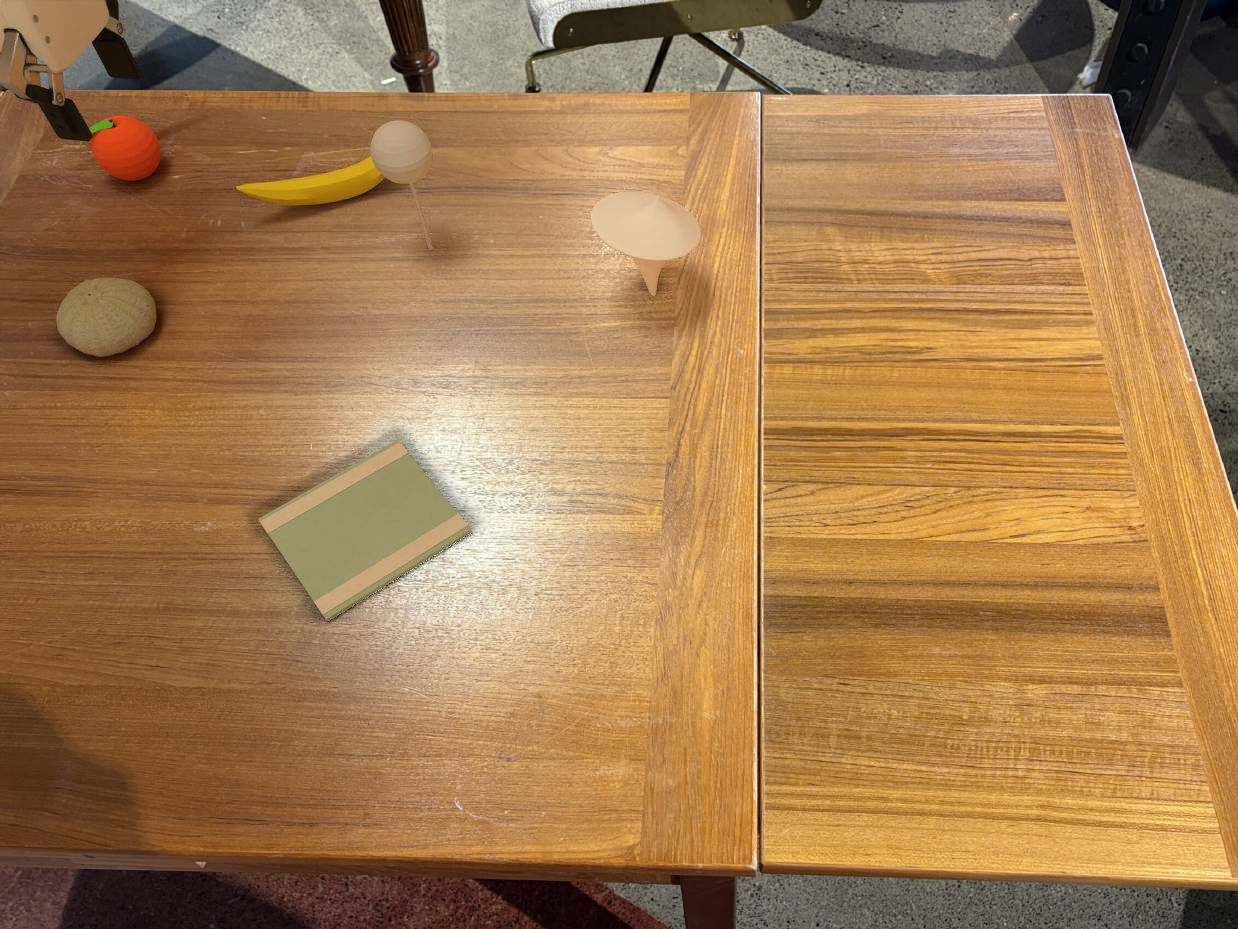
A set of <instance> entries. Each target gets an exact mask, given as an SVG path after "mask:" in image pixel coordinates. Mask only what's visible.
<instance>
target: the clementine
mask: <svg viewBox="0 0 1238 929" xmlns="http://www.w3.org/2000/svg"><path fill="white" fill-rule="evenodd" d="M89 129H90V131H91V133H92V136H93V137H92V139H91V140H90V149H91V153H92V155H93V158H94V160H95V162H97V164H98V165H99V166H100V168H101V169H102V170H103V171H104V172H106V173H108V174H109V175H110V176H112V177H114V178H117V179H119V180H123V181H131V182H132V181H141V180H144V179H146V178H148V177H150V176H151V175H152V174H153V173H154V172H155V171H156V170H157V168H158V167H159V164H160V162H161V157H162V155H161V154H162V153H161V152H162V150H161V145H160V142H159V140H158V138H157V136H156V135H155V134H154V132H153V131H152V130H151V127H149V126H147V125H146V124H145V123H144V122H142V121H141V120H138V119H136V118H134V117H132V116H127V115H120V114H119V115H111V116H107V117H105V118H104V119H102V120H100V121H99V122H97V123H95V124H93V125H92V126H90V127H89ZM83 143H84V141H79V154H80V155H81V154H82V145H83Z"/></svg>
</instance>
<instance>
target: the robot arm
mask: <svg viewBox="0 0 1238 929" xmlns="http://www.w3.org/2000/svg"><path fill="white" fill-rule="evenodd" d="M119 4H120V3H119V0H0V85H1V86H2V87H4V88H5V89H6V90H8V91H9V92H11V93H12V94H13V95H14V96H15V97H16V98H17V99H20V100H23V101H27V102H29V103H30V104H35V105H38V107H39V108H40V110H41V111H42V113H43V115H44V116H45V118H46V120H47V121H48V123H49V125H50V127H51V128H52V129H53V131H54V133H55V135H56V136H57V137H58V138H59V139H61V140H66V141H67V140H68V141H76V142H77V141H78V142H81V141H83V142H91V139H92V137H93V136H92V133H91V131H90V129H89V128H90V127H89V125H87V122H86V121H85V118H84V116H83V115H82V113H81V111H80V110H79V108H78V107H77V105H76V103H75V102H74V100H73V99H72V98H69V97H66V96H65V83H64V82H65V81H64V72H66V71H67V70H68V69H69V68H70V67H71V66H72V65H73V64H74V63H75V62H76V61H77V59H78V58H79V57H80V56H82V54H83V53H84V52H85V50H86V49H88V47H89V46H90V45H91V44H92V47H93V48H94V50H95V52H96V54H97V56H98V58H99V60H100V61H101V64H102V65H103V68H104V69H105V71H106V73H107V75H108V77H111V78H113V79H126V80H134V81H135V80H140V79H141V77H142V76H143V72H142V71H141V69H140V67H139V65H138V63H137V61H136V59H135V57H134V55H133V53H132V51H131V49H130V47H129V45H128V43H127V41H126V39H125V37H123V36H124V35H125V26H124V24H123V23H122V22H121V21H120V5H119ZM38 60H39V61H40V62H41V63H38ZM41 74H47V83H48V84H47V85H48V88H47V87H44V86H42V84H41Z"/></svg>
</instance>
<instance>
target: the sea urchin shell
mask: <svg viewBox="0 0 1238 929" xmlns="http://www.w3.org/2000/svg"><path fill="white" fill-rule="evenodd" d="M156 305H157V304H156V303H155V299H154V298H153V297H152V295H151V294H150V292H149V291H148V290H147V289H146V288H145V286H144V285H141V284H140V283H138V282H136V281H135V280H131V279H128V278H121V277H120V278H119V277H96V278H91V279H85V280H84V281H82V282H79V283H78V284H77V285H76V286H75V287H73V288H72V289H70V290H69V292H68V293H67V295H66V296H65V298H63V300H62V301H61V302H60V305H59V308H58V310H57V312H56V316H55V322H56V327H57V331H58V333H59V334H60V336H61V337H62V338H63V339H64V341H65V343H67V344H68V345H69V346H70V347H72V348H74V349H76V350H78V351H79V352H82V353H83V354H87V355H91V356H94V357H97V358H98V357H99V358H101V357H102V358H104V357H105V358H106V357H111V356H114V355H116V354H120V353H125V352H126V351H128V350H130V349H131V348H135V347H136V346H138V345H140V344H141V342H143V341H144V340H146V339H147V338H149V336H150V335H151V334H152V333H153V332H154V331H155V326H156V322H157V319H158V318H157V316H158V314H157V307H156Z"/></svg>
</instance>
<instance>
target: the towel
mask: <svg viewBox="0 0 1238 929" xmlns="http://www.w3.org/2000/svg"><path fill="white" fill-rule="evenodd" d="M257 520H258V522H259V523H260V525H261V526H262V528H263V529H264V531H265V532H266V533H267V535H268V536H269V538H270V540H271V541H272V542H273V544H274V545H275V547H276V548H277V550H278V551H279V553H280V555H281V556H282V557H283V559H284V560H285V561H286V564H288V566H289V568H290V569H291V571H292V572H293V573H294V575H295V576H296V578H297V579H298V581H299V583H300V584H301V585H302V587H303V588H304V589H305V591H306V593H307V594H308V596H309V597H310V598H311V600H312V602H313V603H314V605H315V606H316V607H317V609H318V610H319V612H320V614H321V615H322V616H323V618H324V619H325V620H326V622H327V621H329V620H331V619H333V618H334V617H336V616H338V615H339V614H341V613H342V612H344V611H346V610H347V609H349V608H350V607H352V606H354V605H355V604H357V603H359V602H360V601H362V600H363V599H365V598H367V597H368V596H370V595H371V594H373V593H375V592H376V591H378V590H379V589H381V588H383V587H384V586H386V585H388V584H389V583H391V582H392V581H394V580H396V579H397V578H399V577H400V576H402V575H404V574H405V573H407V572H409V571H410V570H412V569H413V568H415V567H417V566H418V565H420V564H421V563H423V562H425V561H426V560H428V559H429V558H431V557H433V556H434V555H436V554H438V553H439V552H441V551H442V550H444V549H446V548H447V547H449V546H450V545H452V544H454V543H455V542H457V541H459V540H460V539H462V538H463V537H465V536H467V535H468V534H470V533H471V532H472V533H473V531H472V529H471V528H470V526H469V524H468V523H467V522H466V521H465V520H464V518H463V517H462V516H461V515H460V514H459V513H458V512H457V510H456V509H455V508H454V507H453V506H452V504H450V502H449V501H448V499H447V498H446V497H445V496H444V495H443V493H442V492H441V491H440V490H439V488H438V487H437V486H436V485H435V484H434V483H433V481H432V480H431V479H430V477H429V476H428V475H427V474H426V473H425V472H424V470H423V469H422V468H421V466H420V465H419V464H418V463H417V462H416V460H415V459H414V457H412V455H410V452H409V451H408V450H407V449H406V448H405V446H404V445H403V444H402V442H400V441H399V440H398V439H397V440H395V441H393V442H391V443H389V444H387V445H386V446H383V447H382V448H380V449H379V450H377V451H375V452H373V453H371V454H370V455H368V456H366V457H365V458H362V459H361V460H359V461H358V462H356V463H353V464H352V465H350V466H349V467H347V468H345V469H343V470H342V471H340V472H338V473H336V474H334V475H333V476H331V477H329V478H327V479H326V480H324V481H322V482H320V483H318V484H317V485H315V486H312V488H310V489H307V490H306V491H304V492H302V493H301V494H299V495H297V496H295V497H294V498H292V499H290V500H289V501H287V502H285V503H284V504H282V505H280V506H278V507H276V508H275V509H273V510H271V511H270V512H269V511H268V512H267V513H266V514H264V515H262V516H260V517H259V518H258V519H257ZM470 535H471V534H470ZM468 536H469V535H468ZM468 536H467V537H468ZM465 538H466V537H465ZM462 540H463V539H462ZM460 541H461V540H460ZM460 541H459V542H460ZM457 543H458V542H457ZM454 545H455V544H454ZM452 546H453V545H452ZM449 548H450V547H449ZM447 549H448V548H447ZM447 549H446V550H447ZM444 551H445V550H444ZM441 553H442V552H441ZM439 554H440V553H439ZM439 554H438V555H439ZM436 556H437V555H436ZM433 558H434V557H433ZM431 559H432V558H431ZM428 561H429V560H428ZM426 562H427V561H426ZM426 562H425V563H426ZM423 564H424V563H423ZM420 566H421V565H420ZM418 567H419V566H418ZM418 567H417V568H418ZM415 569H416V568H415ZM412 571H413V570H412ZM410 572H411V571H410ZM410 572H409V573H410ZM407 574H408V573H407ZM404 576H405V575H404ZM402 577H403V576H402ZM399 579H400V578H399ZM397 580H398V579H397ZM397 580H396V581H397ZM394 582H395V581H394ZM391 584H392V583H391ZM389 585H390V584H389ZM389 585H388V586H389ZM386 587H387V586H386ZM383 589H384V588H383ZM381 590H382V589H381ZM378 592H379V591H378ZM375 594H376V593H375ZM373 595H374V594H373ZM370 597H371V596H370ZM368 598H369V597H368ZM368 598H367V599H368ZM365 600H366V599H365ZM362 602H363V601H362ZM360 603H361V602H360ZM360 603H359V604H360ZM357 605H358V604H357ZM354 607H355V606H354ZM352 608H353V607H352ZM349 610H350V609H349ZM347 611H348V610H347ZM347 611H346V612H347ZM344 613H345V612H344ZM341 615H342V614H341ZM339 616H340V615H339ZM339 616H338V617H339ZM336 618H337V617H336ZM333 620H334V619H333ZM331 621H332V620H331Z"/></svg>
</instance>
